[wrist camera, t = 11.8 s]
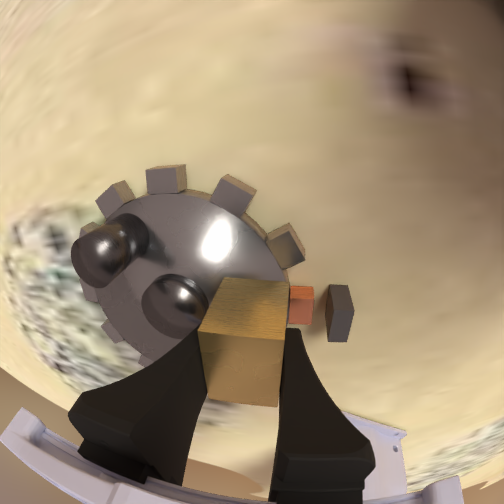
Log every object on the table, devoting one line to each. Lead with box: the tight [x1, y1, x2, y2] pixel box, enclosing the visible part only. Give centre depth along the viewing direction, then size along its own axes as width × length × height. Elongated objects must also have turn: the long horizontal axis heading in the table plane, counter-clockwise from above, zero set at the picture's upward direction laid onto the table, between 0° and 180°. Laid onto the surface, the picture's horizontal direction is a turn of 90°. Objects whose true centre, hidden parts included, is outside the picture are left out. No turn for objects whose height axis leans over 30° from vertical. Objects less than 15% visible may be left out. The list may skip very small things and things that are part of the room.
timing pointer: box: [325, 285, 354, 342], centre depth 14 cm, size 1×2×2 cm, turn 0°
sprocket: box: [71, 164, 314, 367], centre depth 14 cm, size 14×14×5 cm
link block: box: [198, 277, 289, 407], centre depth 12 cm, size 4×3×4 cm
